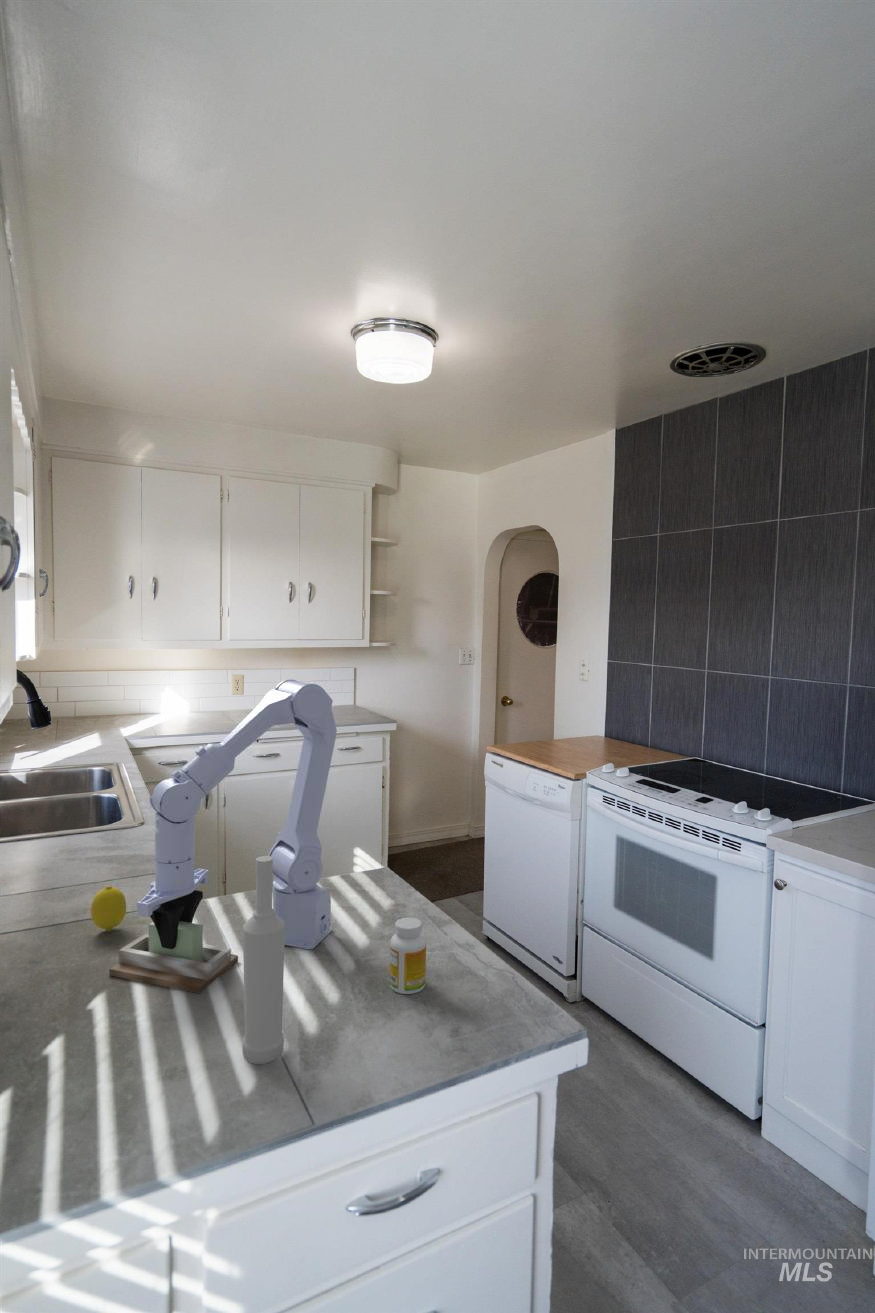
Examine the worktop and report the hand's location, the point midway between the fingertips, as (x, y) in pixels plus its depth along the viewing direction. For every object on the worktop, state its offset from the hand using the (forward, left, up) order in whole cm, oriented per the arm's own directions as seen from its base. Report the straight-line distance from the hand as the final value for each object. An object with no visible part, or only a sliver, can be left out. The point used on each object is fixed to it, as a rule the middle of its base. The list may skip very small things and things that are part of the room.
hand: (175, 943), depth 108 cm
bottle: (-24, +14, -4) cm, 28 cm away
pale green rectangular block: (0, 0, -3) cm, 3 cm away
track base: (0, 0, -4) cm, 4 cm away
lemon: (+19, -7, -4) cm, 21 cm away
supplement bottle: (-36, -7, -4) cm, 37 cm away
